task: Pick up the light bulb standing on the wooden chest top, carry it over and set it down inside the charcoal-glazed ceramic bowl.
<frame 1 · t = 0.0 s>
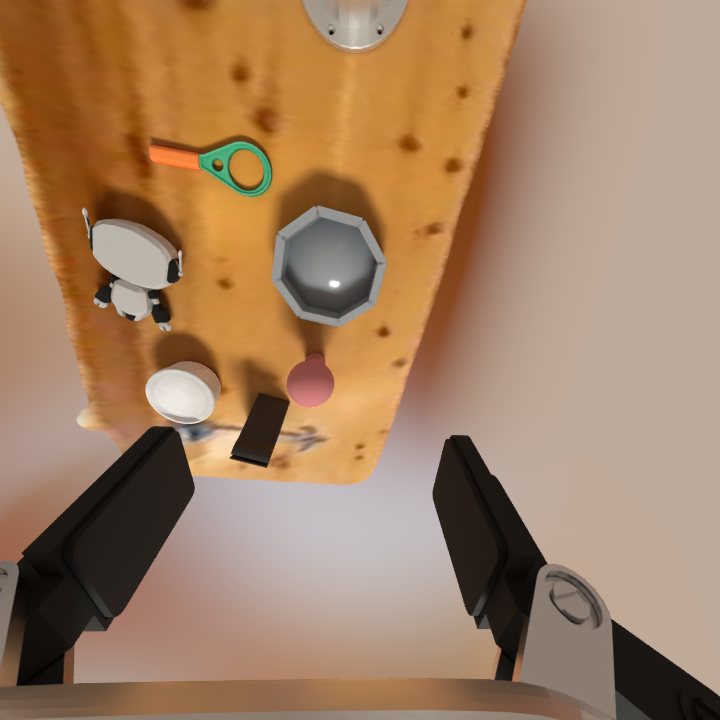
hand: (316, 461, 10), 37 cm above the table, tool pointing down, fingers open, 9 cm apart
phone stand: (270, 414, 54), on the table
light bulb: (317, 359, 49), on the table
ceramic bowl: (331, 267, 42), on the table
ramekin: (196, 382, 51), on the table
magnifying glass: (217, 166, 37), on the table
robot toy: (148, 273, 42), on the table
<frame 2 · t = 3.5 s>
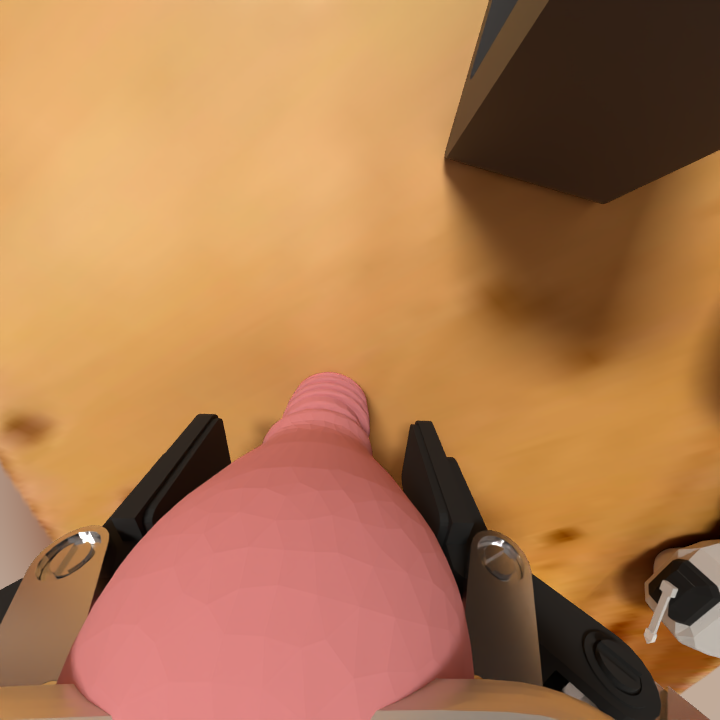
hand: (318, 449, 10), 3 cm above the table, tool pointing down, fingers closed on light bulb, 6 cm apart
phone stand: (589, 7, 8), on the table
light bulb: (326, 398, 13), on the table, touching gripper
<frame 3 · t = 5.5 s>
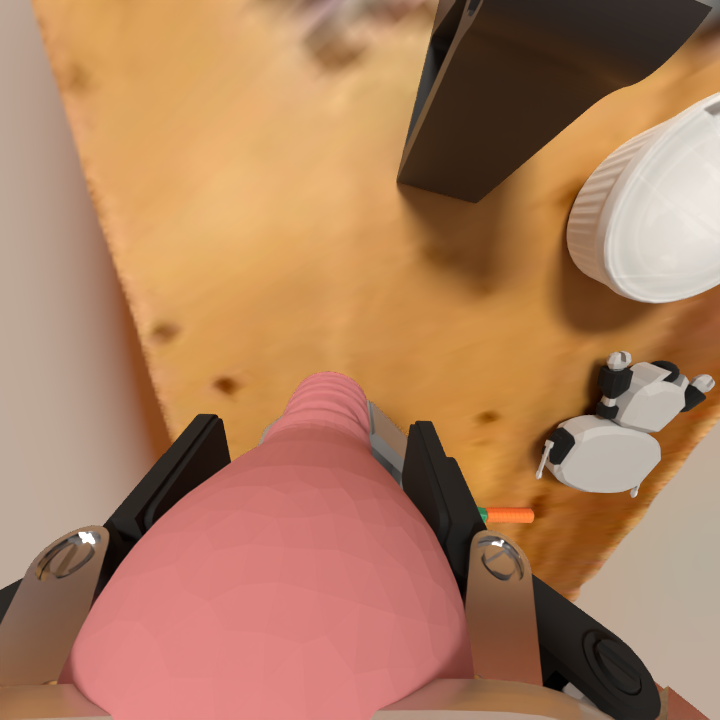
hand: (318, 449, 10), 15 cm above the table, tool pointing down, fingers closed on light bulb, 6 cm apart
phone stand: (458, 114, 18), on the table
light bulb: (326, 398, 13), point 11 cm above the table, touching gripper
ceramic bowl: (335, 455, 31), on the table
ramekin: (624, 212, 21), on the table
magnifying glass: (469, 507, 36), on the table
robot toy: (595, 412, 29), on the table
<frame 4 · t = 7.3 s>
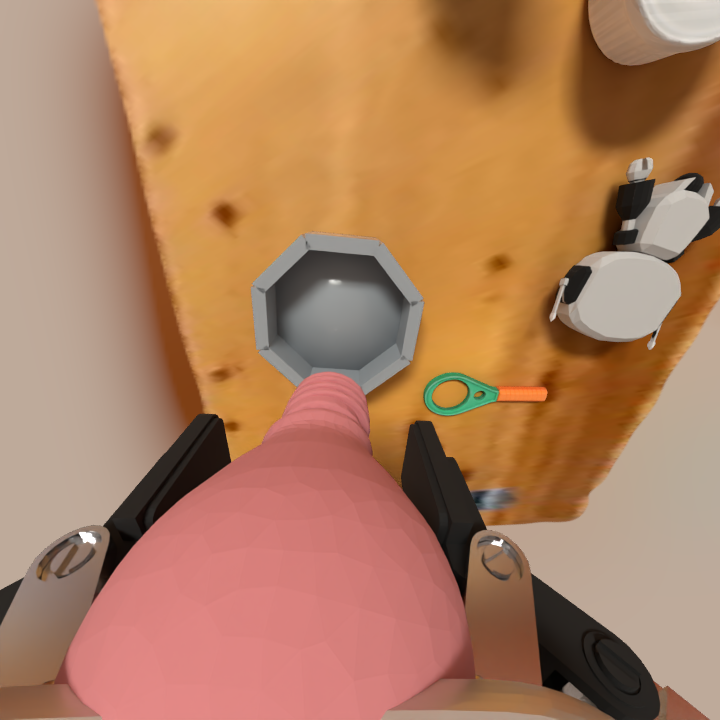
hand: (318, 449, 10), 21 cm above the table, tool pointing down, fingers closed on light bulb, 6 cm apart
light bulb: (326, 398, 13), point 18 cm above the table, touching gripper
ceramic bowl: (339, 312, 29), on the table
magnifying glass: (480, 389, 35), on the table
robot toy: (611, 260, 28), on the table
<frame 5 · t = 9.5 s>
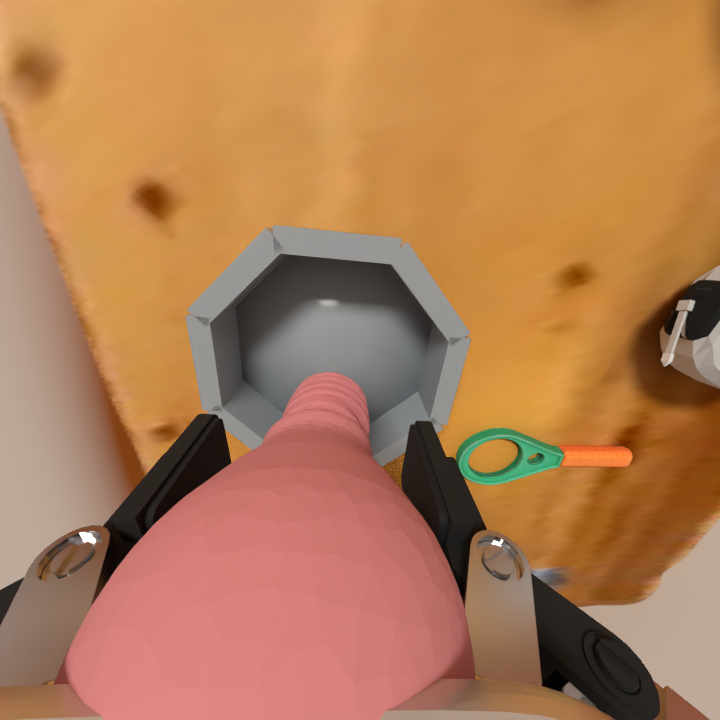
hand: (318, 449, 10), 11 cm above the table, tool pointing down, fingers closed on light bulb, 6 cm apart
light bulb: (326, 398, 13), point 7 cm above the table, touching gripper
ceramic bowl: (334, 347, 20), on the table
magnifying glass: (533, 448, 26), on the table
when the fingers open (7 cm above the table, at t = 10.9 s): light bulb drops 2 cm, resting on ceramic bowl.
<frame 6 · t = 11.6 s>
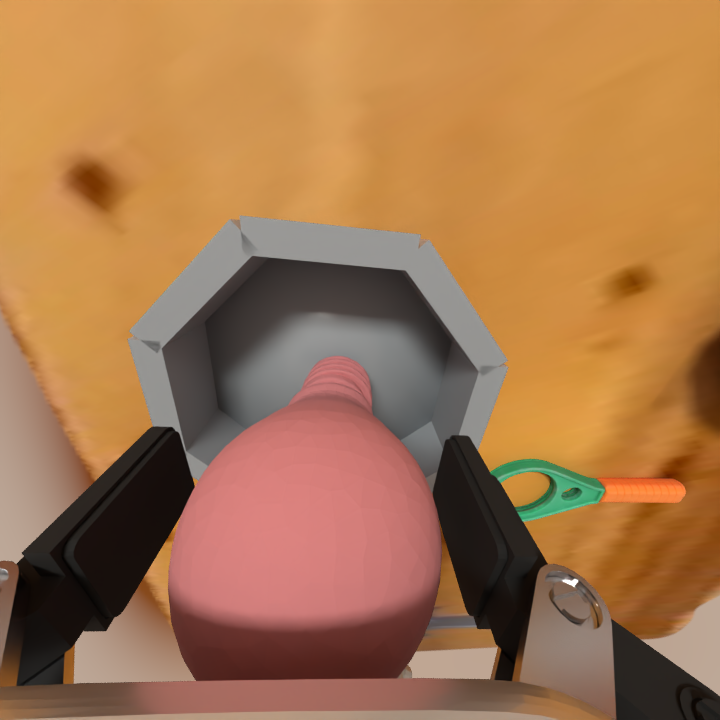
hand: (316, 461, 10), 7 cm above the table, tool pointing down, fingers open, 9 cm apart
light bulb: (335, 379, 16), point 1 cm above the table, touching ceramic bowl
ceramic bowl: (330, 368, 16), on the table
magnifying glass: (566, 479, 22), on the table
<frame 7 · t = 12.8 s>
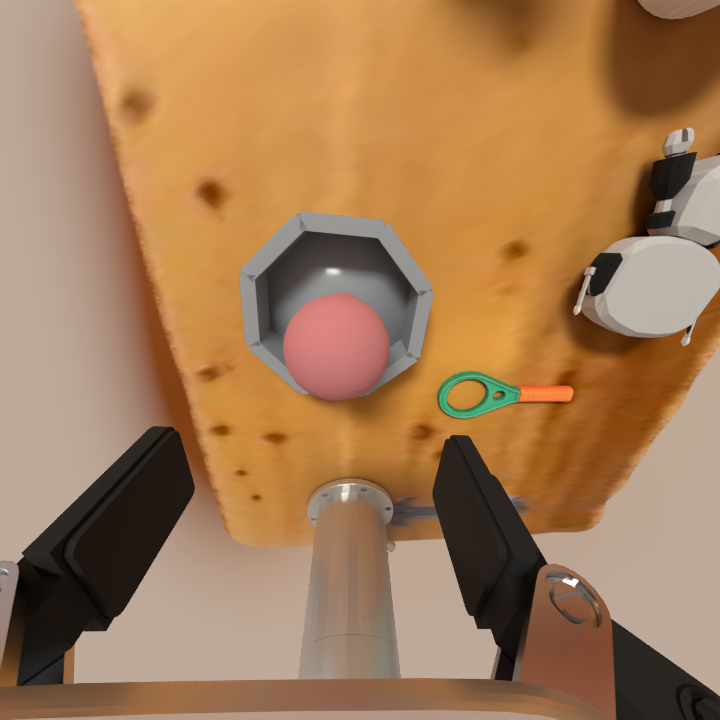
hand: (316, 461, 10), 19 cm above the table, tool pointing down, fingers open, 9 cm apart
light bulb: (341, 310, 26), point 1 cm above the table, touching ceramic bowl
ceramic bowl: (338, 304, 27), on the table
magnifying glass: (498, 389, 33), on the table
robot toy: (640, 248, 25), on the table
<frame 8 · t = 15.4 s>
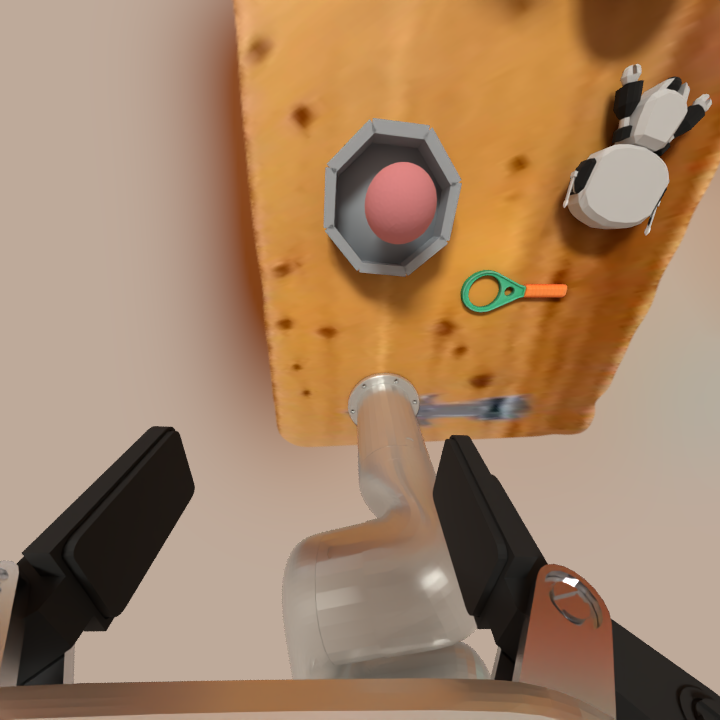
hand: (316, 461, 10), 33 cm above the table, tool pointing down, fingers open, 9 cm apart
light bulb: (389, 211, 35), point 1 cm above the table, touching ceramic bowl
ceramic bowl: (386, 208, 36), on the table
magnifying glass: (508, 289, 41), on the table
robot toy: (611, 163, 34), on the table
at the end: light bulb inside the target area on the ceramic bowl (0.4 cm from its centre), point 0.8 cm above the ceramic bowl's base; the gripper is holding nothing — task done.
